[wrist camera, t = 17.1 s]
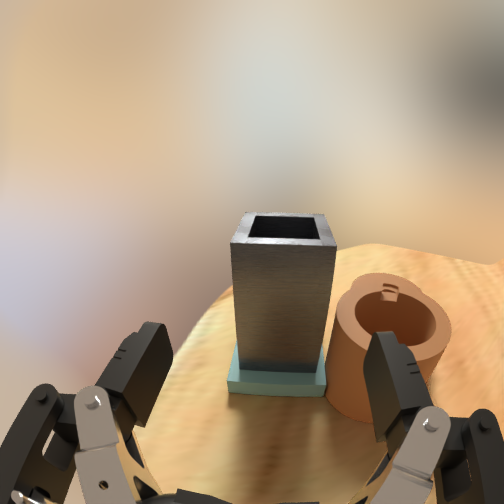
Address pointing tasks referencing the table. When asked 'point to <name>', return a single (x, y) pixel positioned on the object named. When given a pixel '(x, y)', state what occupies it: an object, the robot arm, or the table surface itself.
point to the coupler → (281, 289)
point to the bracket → (380, 320)
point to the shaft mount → (276, 381)
